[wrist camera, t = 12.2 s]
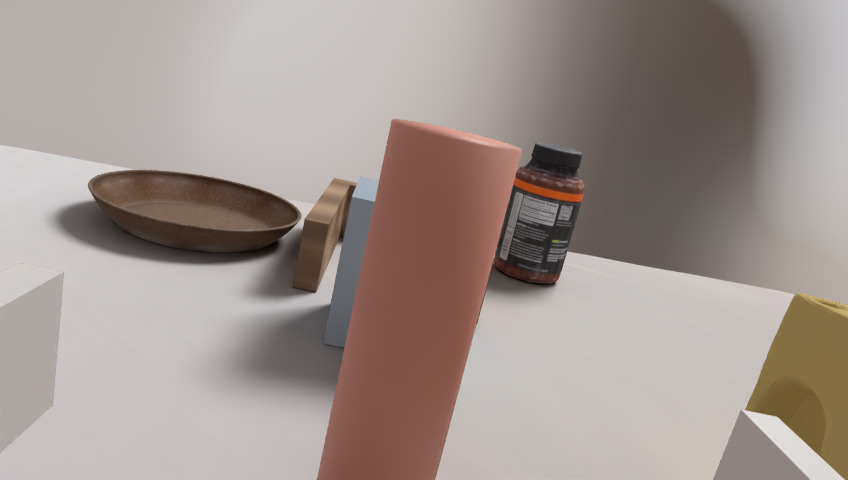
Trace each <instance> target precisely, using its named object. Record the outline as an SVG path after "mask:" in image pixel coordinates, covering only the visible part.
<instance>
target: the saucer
mask: <svg viewBox="0 0 848 480" xmlns="http://www.w3.org/2000/svg"><path fill="white" fill-rule="evenodd" d="M88 188H89V190H90V192H91V193H92V195H93V197H94V199H95V200H96V202H97V203H98V204H99V206H100V207H101V208H102V210H103V211H104V212H105V213H106V214H107V215H108V216H109V217H110V218H111V219H112V220H113V221H114V222H115V223H116V224H118V225H119V226H120V227H121V228H122V229H124V230H125V231H127V232H128V233H130V234H132V235H134V236H136V237H139V238H141V239H144V240H147V241H150V242H153V243H157V244H160V245H165V246H169V247H174V248H179V249H186V250H193V251H202V252H219V253H230V252H244V251H251V250H256V249H260V248H262V247H265V246H267V245H269V244H271V243H273V242H275V241H276V240H278V239H279V238H281V237H282V236H284V235H285V234H286V233H288V232H289V231H290V230H291V229H292V228H293V227H294V226H295V225H296V224H297V223H298V222H299V221H300V219H301V213H300V211H299V210H298V209H297V207H295V206H294V205H293V204H291V203H290V202H288V201H287V200H285V199H283V198H281V197H279V196H276V195H274V194H272V193H269V192H266V191H263V190H260V189H257V188H254V187H251V186H247V185H243V184H240V183H236V182H232V181H227V180H222V179H218V178H213V177H207V176H202V175H195V174H188V173H180V172H169V171H157V170H126V171H116V172H109V173H104V174H101V175H98V176H96V177H94V178H92V179H91V180H90V181H89V183H88Z"/></svg>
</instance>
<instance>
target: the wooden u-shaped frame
mask: <svg viewBox="0 0 848 480" xmlns="http://www.w3.org/2000/svg"><path fill="white" fill-rule="evenodd" d="M356 186H357V183H355V182H350V181H346V180H341V179H336V178H334V179H333V181H332V182H331V184H330V185H329V186H328V188H327V189H326V191H325V192H324V194H323V195H322V196H321V197H320V199H319V200H318V202H317V203H316V204H315V206H314V207H313V209H312V210H311V211H310V213H309V214H308V215H307V217H306V218H305V221H304V226H303V232H302V238H301V243H300V249H299V254H298V260H297V265H296V271H295V277H294V282H293V287H294V288H299V289H304V290H309V291H314V292H316V291H317V289H318V286H319V284H320V282H321V279H322V277H323V275H324V272H325V270H326V268H327V265H328V263H329V261H330V258H331V256H332V253H333V251H334V249H335V246H336V244H337V242H338V239H339V237H340V236H343V237H344V234H345V229H346V224H347V219H348V213H349V208H350V203H351V198H352V195H353V193H354V190H355V188H356ZM493 262H494V259H493ZM492 266H493V263H492ZM491 269H492V267H491ZM490 273H491V270H490ZM489 277H490V274H489ZM488 281H489V278H488ZM487 284H488V282H487ZM486 288H487V286H486ZM485 292H486V289H485ZM484 296H485V293H484ZM483 300H484V297H483ZM482 303H483V301H482ZM481 307H482V304H481ZM480 311H481V308H480ZM479 315H480V312H479ZM478 318H479V316H478ZM477 322H478V320H477ZM476 324H477V323H476Z"/></svg>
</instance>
